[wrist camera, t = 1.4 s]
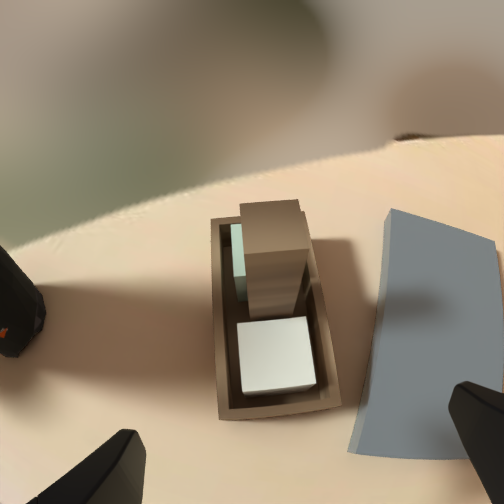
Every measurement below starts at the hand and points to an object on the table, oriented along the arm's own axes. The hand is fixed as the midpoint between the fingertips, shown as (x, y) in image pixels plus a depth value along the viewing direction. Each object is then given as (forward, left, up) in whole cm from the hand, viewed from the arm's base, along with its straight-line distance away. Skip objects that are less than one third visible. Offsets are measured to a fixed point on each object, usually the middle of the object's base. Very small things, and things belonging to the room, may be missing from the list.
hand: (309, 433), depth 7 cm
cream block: (+2, -4, -13) cm, 13 cm away
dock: (-11, -9, -13) cm, 20 cm away
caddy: (+3, -7, -14) cm, 16 cm away
